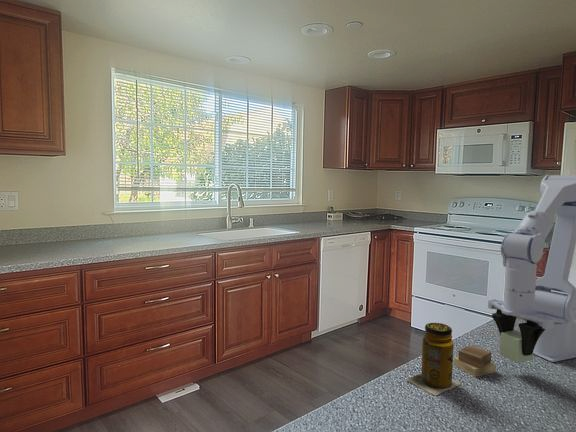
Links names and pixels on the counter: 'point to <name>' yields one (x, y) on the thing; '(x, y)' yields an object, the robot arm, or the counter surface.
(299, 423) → the counter surface
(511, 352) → the sage block
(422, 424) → the counter surface
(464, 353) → the walnut slab
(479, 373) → the oak slab
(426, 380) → the condiment
